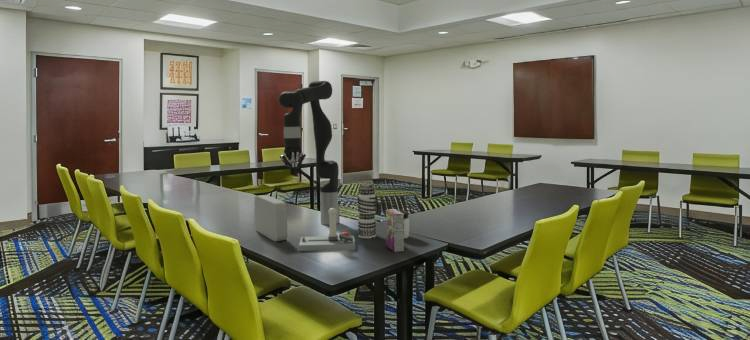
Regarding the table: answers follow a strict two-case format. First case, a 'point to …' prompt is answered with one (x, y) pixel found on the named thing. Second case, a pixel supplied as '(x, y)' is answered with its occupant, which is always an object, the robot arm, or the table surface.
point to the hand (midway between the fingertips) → (293, 175)
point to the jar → (405, 223)
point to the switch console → (325, 244)
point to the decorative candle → (366, 211)
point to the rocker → (345, 237)
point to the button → (346, 233)
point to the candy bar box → (395, 230)
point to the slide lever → (332, 224)
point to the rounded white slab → (271, 217)
